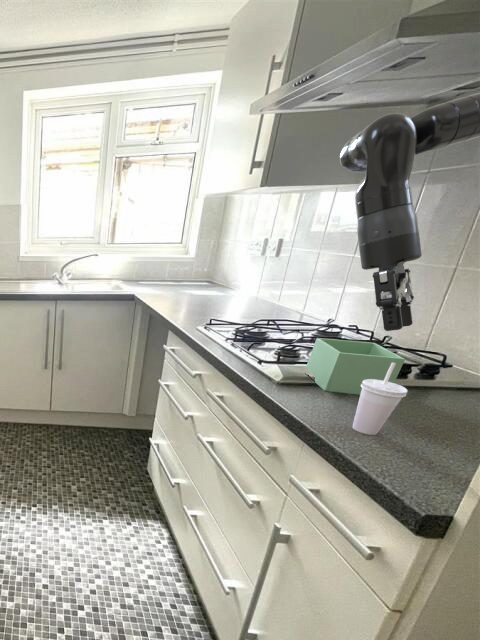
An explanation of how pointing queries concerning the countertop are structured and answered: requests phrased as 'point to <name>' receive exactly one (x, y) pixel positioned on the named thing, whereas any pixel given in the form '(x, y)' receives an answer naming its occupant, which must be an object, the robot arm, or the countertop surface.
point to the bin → (350, 364)
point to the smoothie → (377, 403)
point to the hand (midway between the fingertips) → (399, 328)
